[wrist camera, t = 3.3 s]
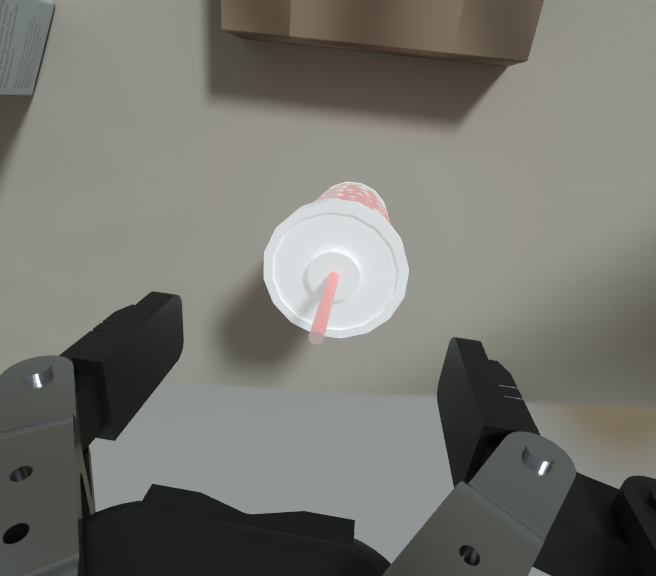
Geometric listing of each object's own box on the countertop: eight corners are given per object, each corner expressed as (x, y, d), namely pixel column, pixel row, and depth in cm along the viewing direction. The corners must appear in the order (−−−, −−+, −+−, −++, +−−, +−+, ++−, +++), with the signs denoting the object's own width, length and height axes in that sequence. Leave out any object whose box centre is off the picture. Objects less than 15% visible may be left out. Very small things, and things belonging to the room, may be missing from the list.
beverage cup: (398, 163, 23) (416, 234, 11) (402, 263, 26) (420, 417, 13) (294, 173, 24) (198, 249, 12) (308, 268, 27) (240, 416, 14)
